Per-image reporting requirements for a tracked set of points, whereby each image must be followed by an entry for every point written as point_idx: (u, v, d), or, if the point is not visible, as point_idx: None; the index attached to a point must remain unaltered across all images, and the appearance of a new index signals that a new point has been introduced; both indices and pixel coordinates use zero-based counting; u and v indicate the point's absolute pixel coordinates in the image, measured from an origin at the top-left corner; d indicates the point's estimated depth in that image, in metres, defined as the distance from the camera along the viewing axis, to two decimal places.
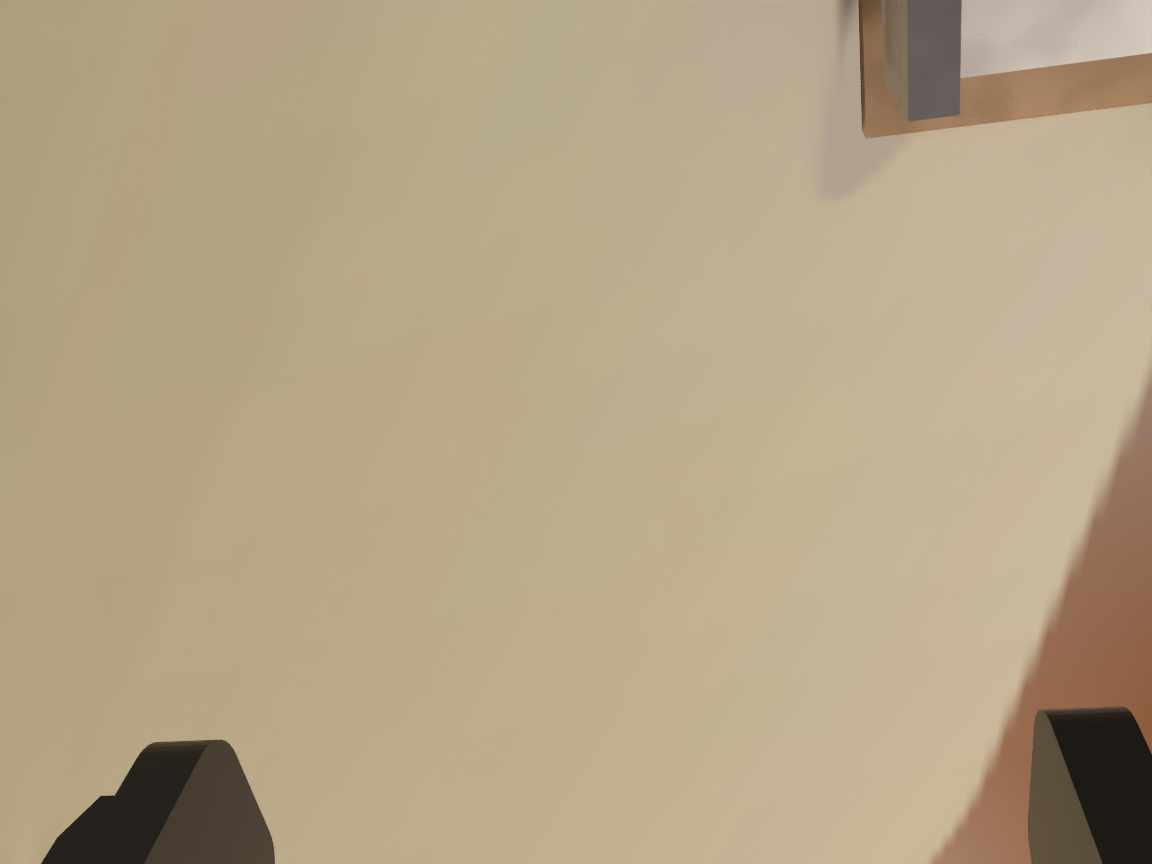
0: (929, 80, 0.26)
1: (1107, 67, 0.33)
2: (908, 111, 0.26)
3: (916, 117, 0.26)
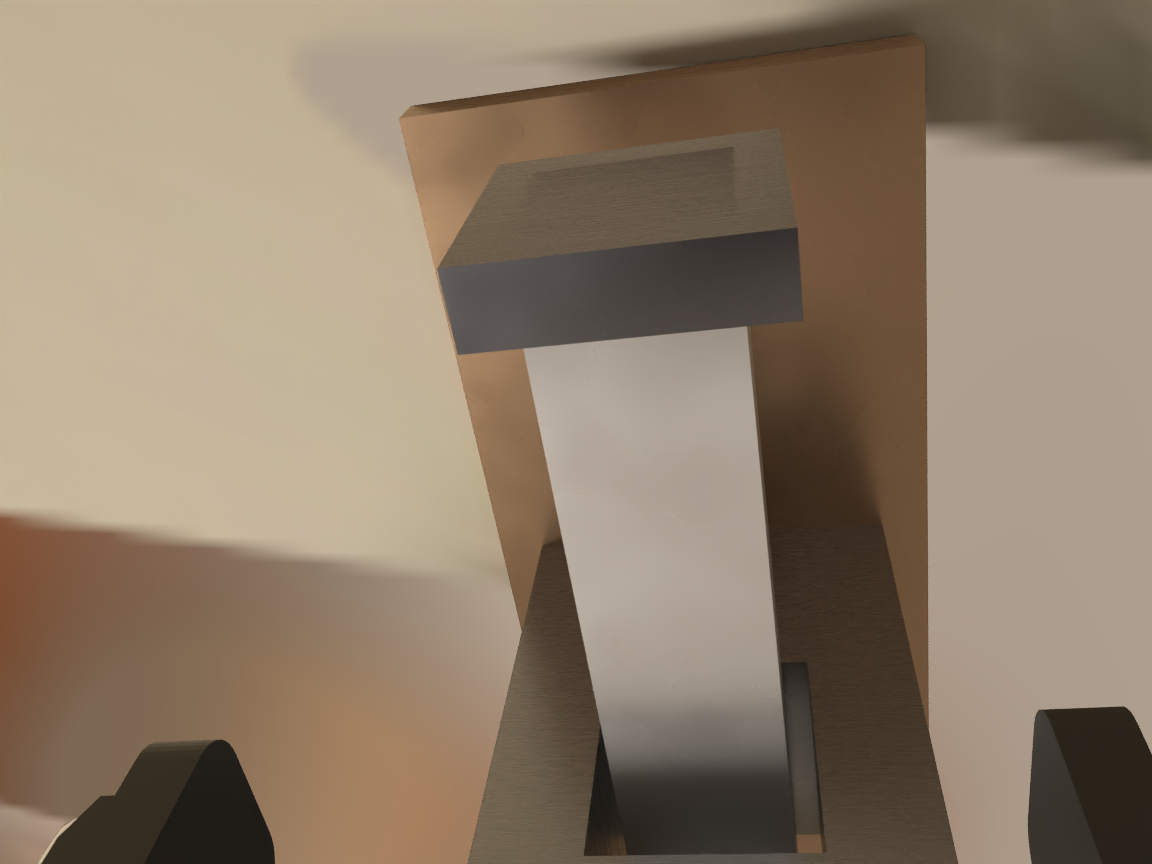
0: (516, 297, 0.14)
1: (527, 429, 0.25)
2: (456, 266, 0.13)
3: (446, 283, 0.14)
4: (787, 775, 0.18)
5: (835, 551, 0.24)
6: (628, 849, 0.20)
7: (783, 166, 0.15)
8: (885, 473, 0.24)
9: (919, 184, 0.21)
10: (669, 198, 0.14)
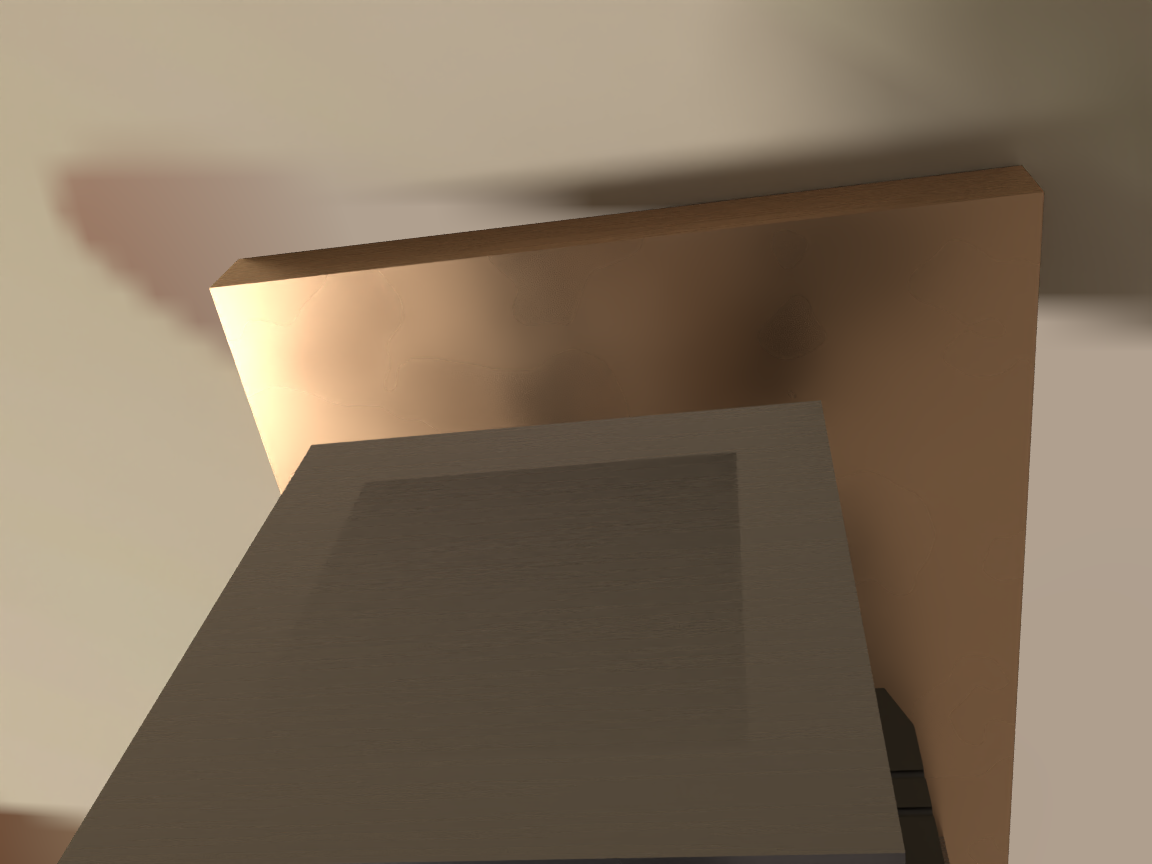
0: None
1: None
2: (98, 863, 0.06)
3: None
4: None
5: None
6: None
7: (841, 544, 0.07)
8: (951, 776, 0.17)
9: (1022, 398, 0.13)
10: (601, 633, 0.07)
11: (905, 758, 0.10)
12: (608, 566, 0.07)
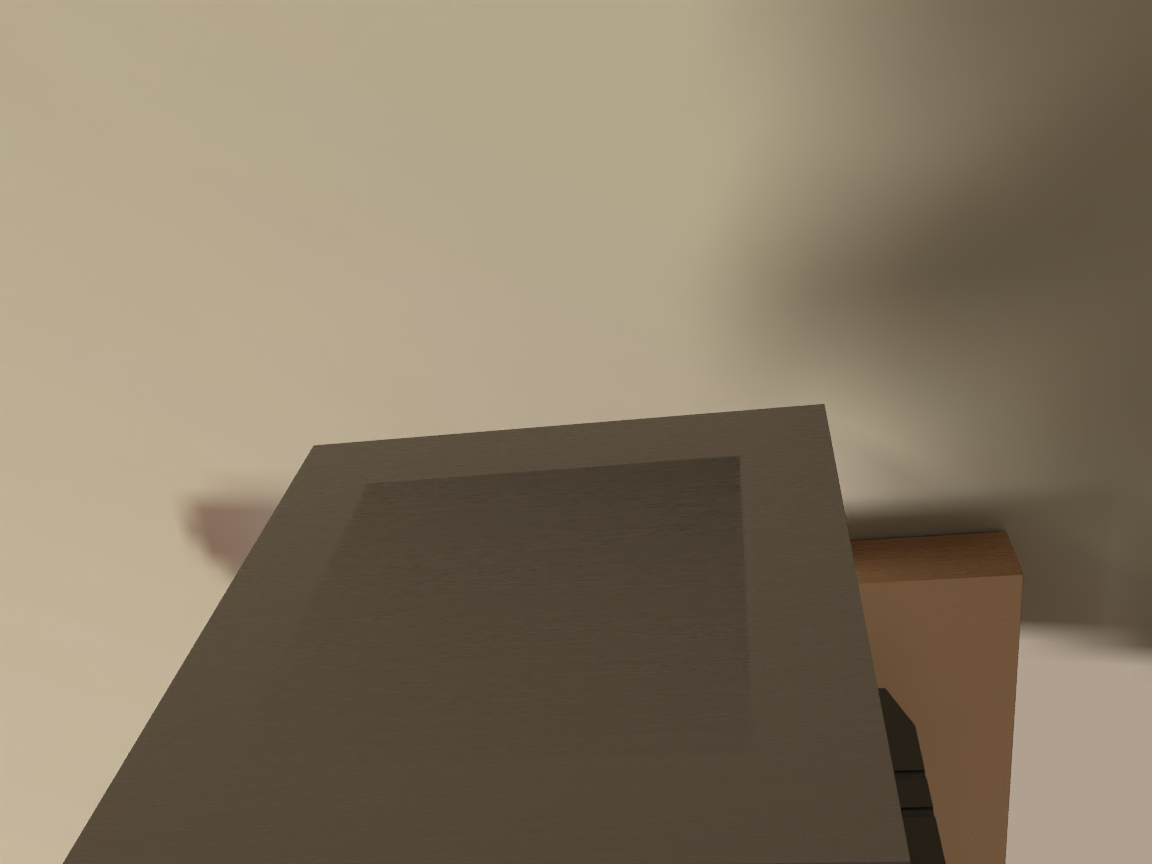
0: None
1: None
2: None
3: None
4: None
5: None
6: None
7: (845, 549, 0.07)
8: None
9: (1005, 716, 0.16)
10: (606, 637, 0.07)
11: (906, 758, 0.10)
12: (612, 570, 0.07)
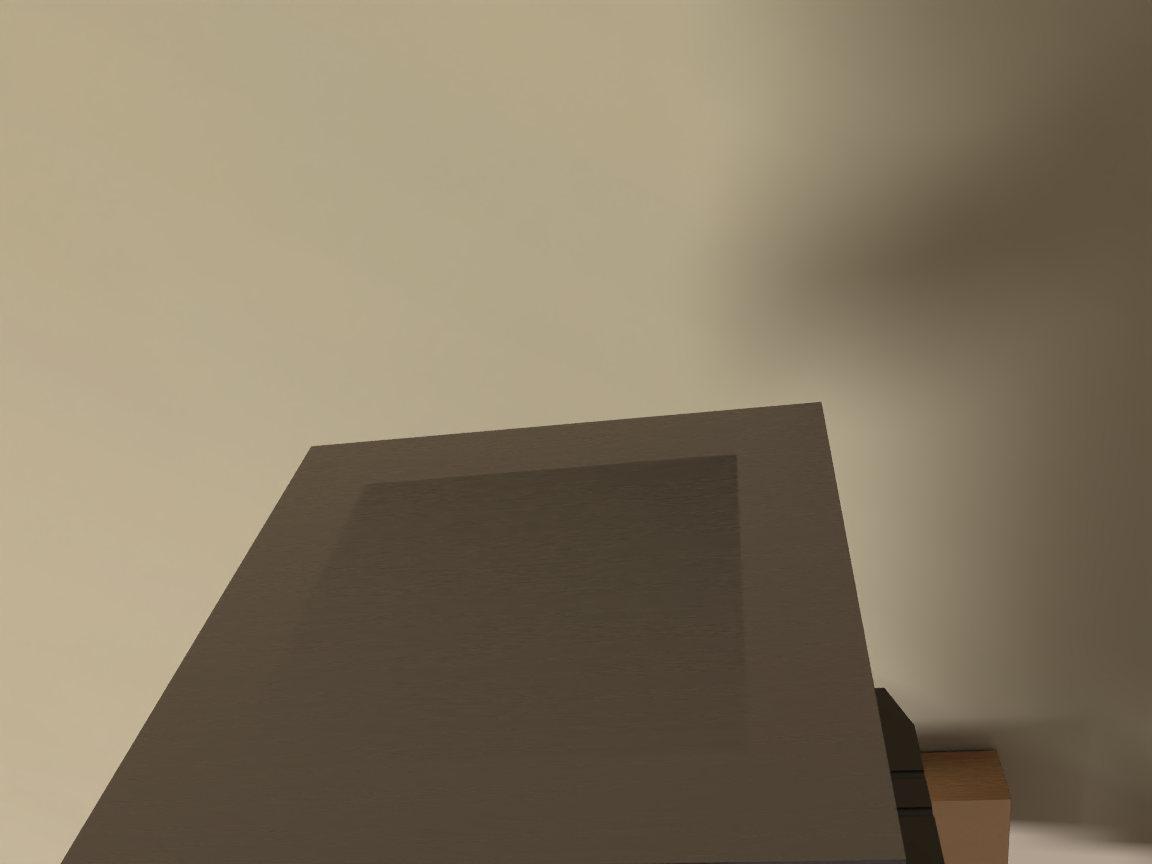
0: None
1: None
2: None
3: None
4: None
5: None
6: None
7: (842, 547, 0.07)
8: None
9: None
10: (603, 636, 0.07)
11: (905, 758, 0.10)
12: (608, 569, 0.07)
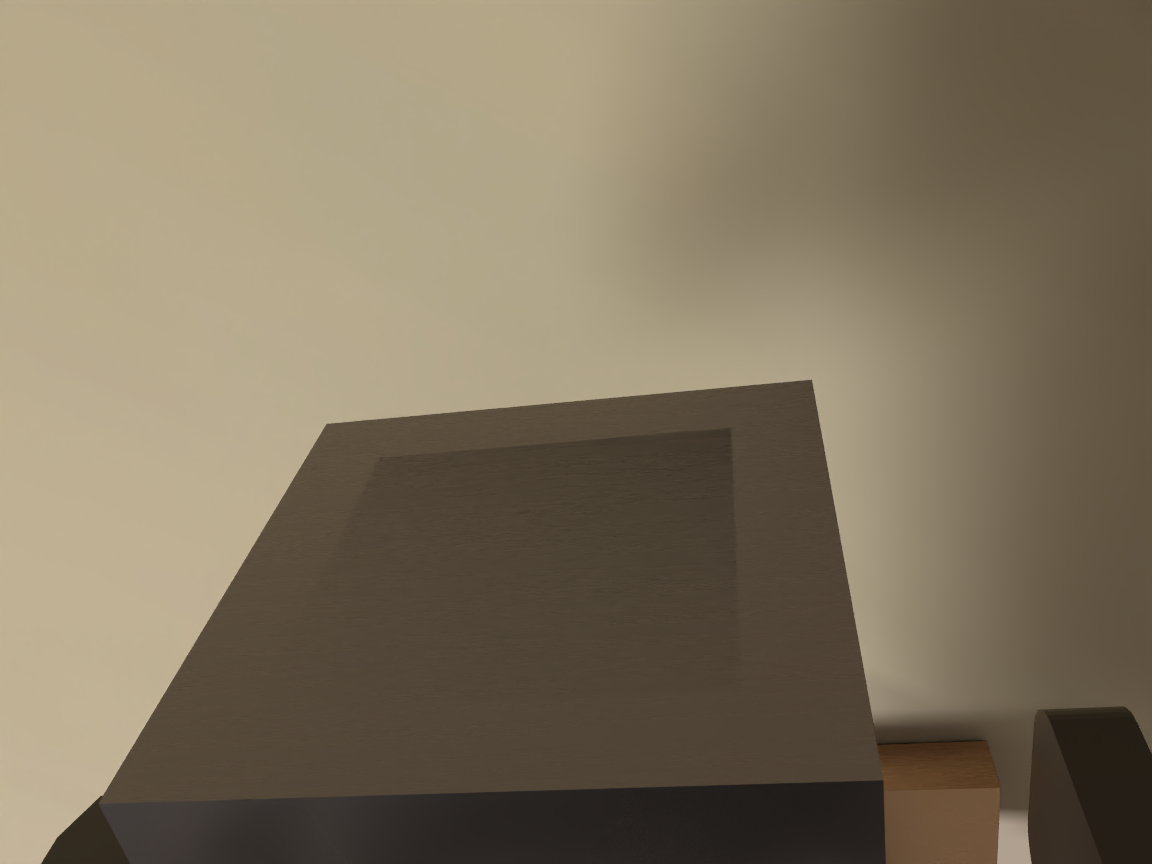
0: (271, 858, 0.06)
1: None
2: (139, 799, 0.06)
3: (121, 831, 0.06)
4: None
5: None
6: None
7: (829, 510, 0.08)
8: None
9: None
10: (606, 591, 0.07)
11: None
12: (610, 532, 0.08)
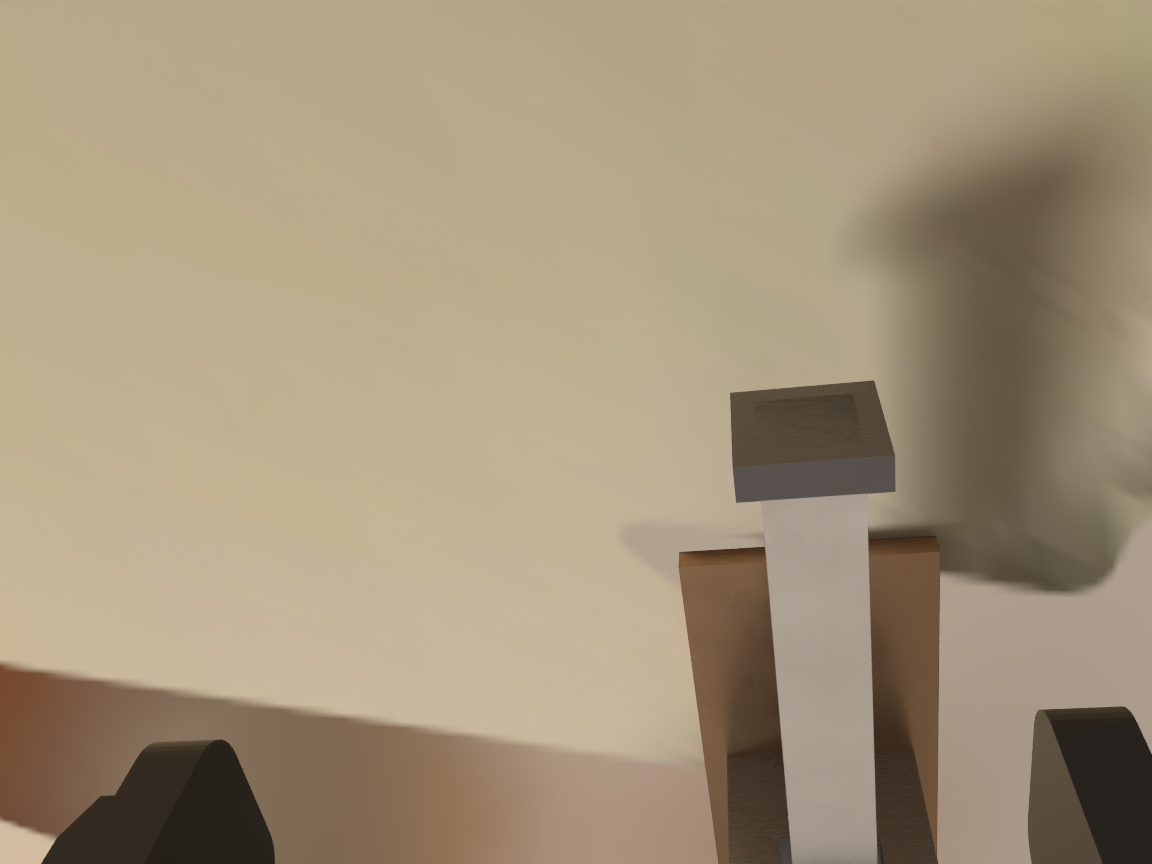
0: (767, 479, 0.31)
1: (726, 700, 0.47)
2: (741, 466, 0.30)
3: (736, 473, 0.30)
4: (872, 703, 0.35)
5: (889, 767, 0.46)
6: (783, 745, 0.37)
7: (881, 411, 0.32)
8: (916, 727, 0.46)
9: (936, 605, 0.43)
10: (830, 428, 0.31)
11: None
12: (827, 417, 0.32)
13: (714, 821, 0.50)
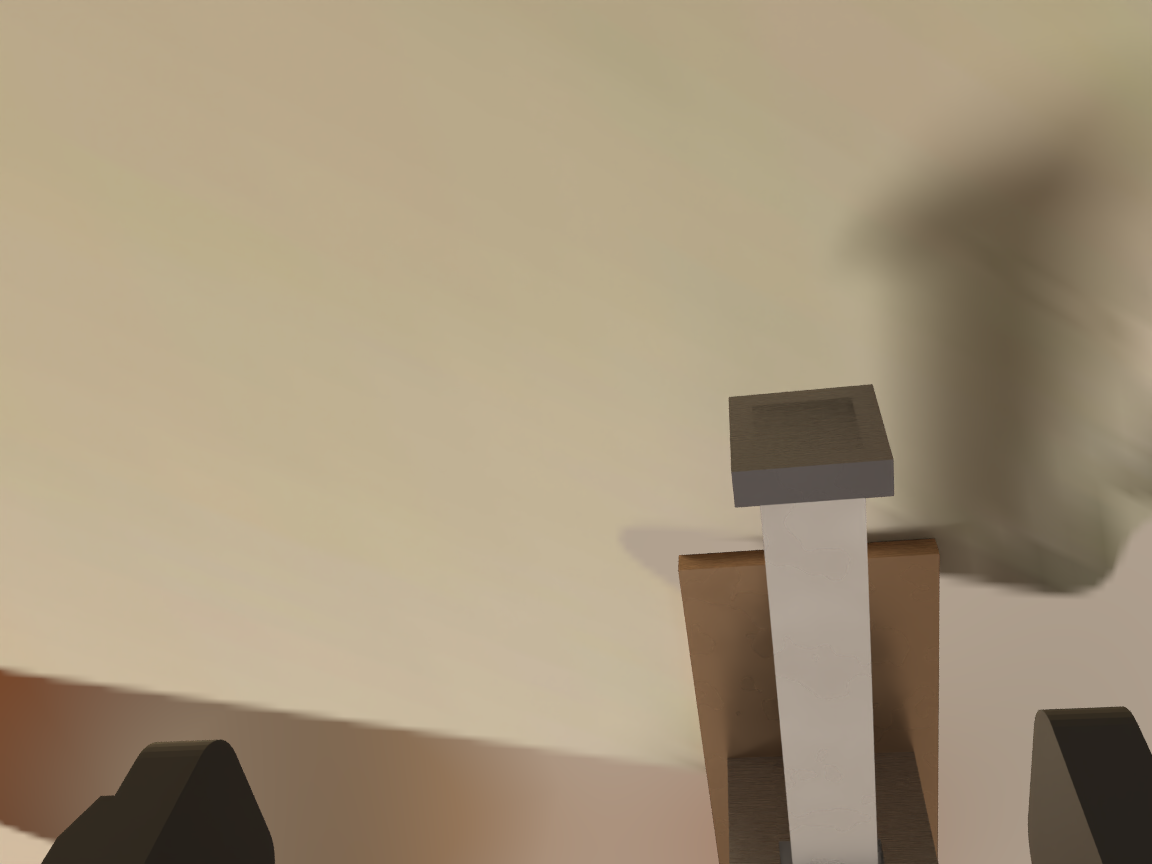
0: (765, 484, 0.31)
1: (726, 703, 0.47)
2: (739, 471, 0.30)
3: (735, 478, 0.31)
4: (871, 706, 0.35)
5: (890, 769, 0.46)
6: (783, 749, 0.37)
7: (879, 415, 0.32)
8: (916, 728, 0.46)
9: (936, 607, 0.43)
10: (828, 433, 0.31)
11: None
12: (826, 421, 0.32)
13: (715, 823, 0.50)
